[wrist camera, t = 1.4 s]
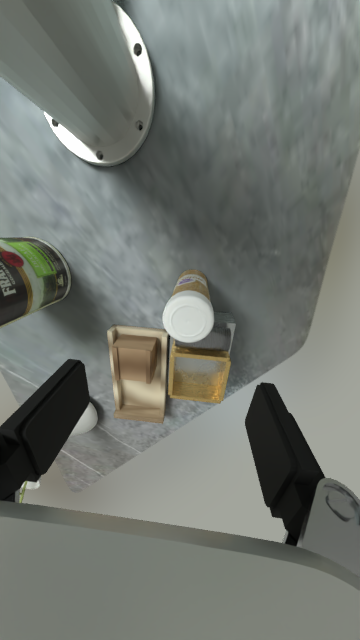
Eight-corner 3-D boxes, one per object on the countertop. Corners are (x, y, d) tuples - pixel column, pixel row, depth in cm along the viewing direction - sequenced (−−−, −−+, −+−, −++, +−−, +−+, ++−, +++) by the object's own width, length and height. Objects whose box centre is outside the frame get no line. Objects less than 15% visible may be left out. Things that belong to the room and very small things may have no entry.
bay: (113, 324, 32) (104, 334, 29) (169, 329, 32) (165, 340, 29) (120, 403, 40) (114, 417, 37) (165, 408, 40) (162, 423, 36)
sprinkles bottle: (197, 262, 27) (197, 285, 15) (213, 289, 29) (224, 330, 16) (171, 279, 28) (151, 313, 16) (187, 304, 30) (180, 352, 18)
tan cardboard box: (121, 333, 32) (110, 347, 28) (157, 336, 31) (151, 351, 27) (123, 363, 34) (114, 380, 30) (156, 367, 34) (151, 384, 30)
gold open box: (174, 307, 30) (167, 328, 24) (231, 312, 30) (240, 334, 23) (171, 368, 35) (165, 398, 29) (219, 373, 35) (225, 405, 28)
